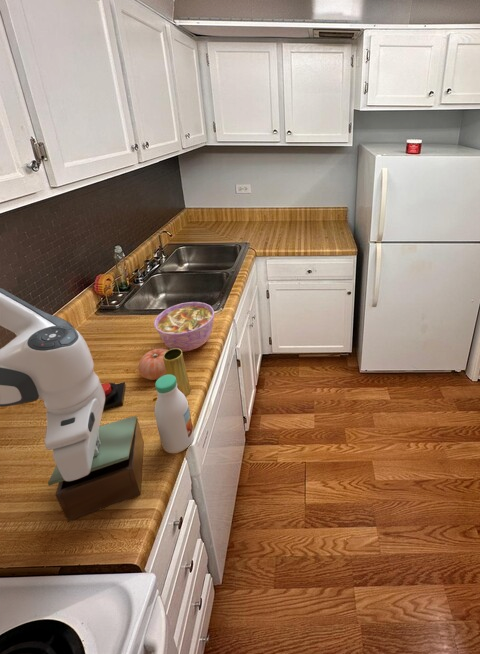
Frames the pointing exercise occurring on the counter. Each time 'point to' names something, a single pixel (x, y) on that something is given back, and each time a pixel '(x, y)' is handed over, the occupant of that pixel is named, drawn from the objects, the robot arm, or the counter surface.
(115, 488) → the box
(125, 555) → the counter surface
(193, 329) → the bowl of food
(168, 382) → the milk bottle
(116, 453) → the lid
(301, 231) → the counter surface
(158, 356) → the orange pumpkin
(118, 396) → the black button base
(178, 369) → the vase
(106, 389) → the button
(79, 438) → the robot arm
